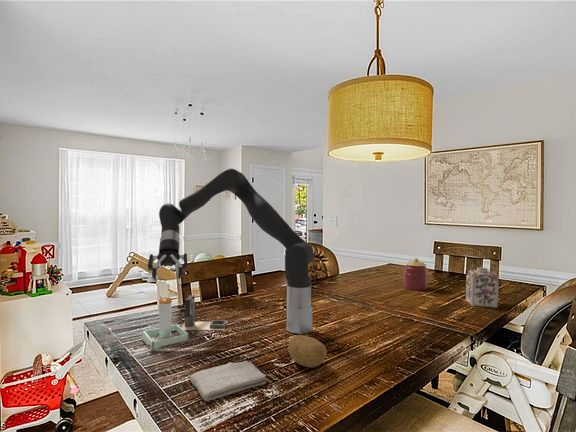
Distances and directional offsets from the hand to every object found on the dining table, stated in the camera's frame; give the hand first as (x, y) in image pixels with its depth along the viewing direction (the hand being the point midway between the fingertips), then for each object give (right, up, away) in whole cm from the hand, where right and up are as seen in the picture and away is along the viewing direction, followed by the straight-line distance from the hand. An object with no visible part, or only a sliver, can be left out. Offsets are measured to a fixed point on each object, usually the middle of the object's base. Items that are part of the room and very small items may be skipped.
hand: (167, 278), depth 127 cm
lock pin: (+2, -20, -7) cm, 21 cm away
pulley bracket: (+12, -20, +5) cm, 24 cm away
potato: (+50, -22, -24) cm, 60 cm away
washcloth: (+29, -22, -35) cm, 51 cm away
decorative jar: (+141, -21, +43) cm, 149 cm away
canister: (+120, -20, +75) cm, 143 cm away
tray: (+2, -21, -8) cm, 22 cm away
